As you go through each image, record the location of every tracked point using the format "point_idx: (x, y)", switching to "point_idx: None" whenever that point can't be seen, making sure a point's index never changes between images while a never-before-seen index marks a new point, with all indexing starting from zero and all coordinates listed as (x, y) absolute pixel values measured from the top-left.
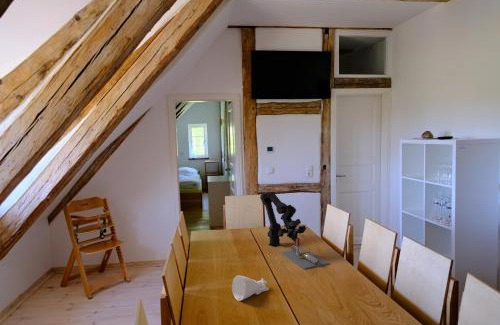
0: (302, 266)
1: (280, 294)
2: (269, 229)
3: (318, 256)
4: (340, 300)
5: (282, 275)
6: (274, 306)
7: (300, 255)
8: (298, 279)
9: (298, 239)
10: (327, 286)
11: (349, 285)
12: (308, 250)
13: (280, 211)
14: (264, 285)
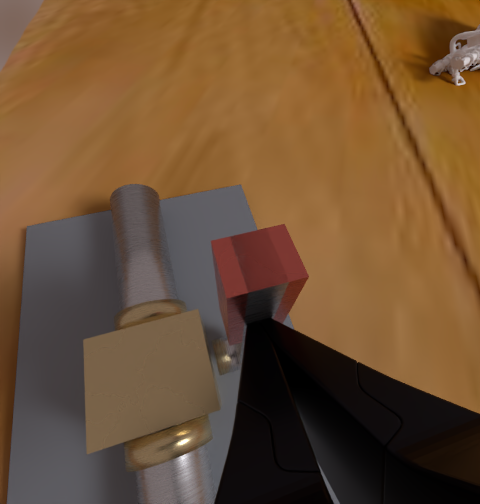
0: (245, 203)
1: (382, 49)
2: None
3: (19, 366)
4: (197, 5)
5: (374, 154)
6: (398, 15)
7: (212, 340)
8: (299, 112)
9: (255, 235)
10: (196, 57)
11: (106, 50)
12: (96, 360)
13: None
14: (461, 33)
